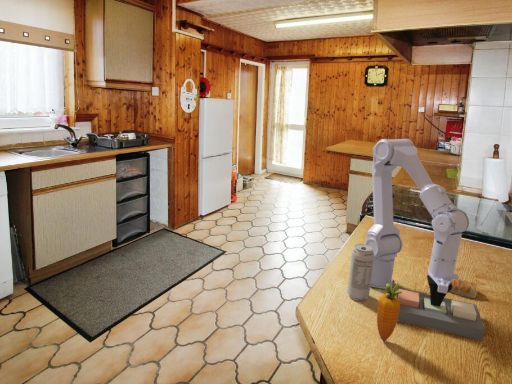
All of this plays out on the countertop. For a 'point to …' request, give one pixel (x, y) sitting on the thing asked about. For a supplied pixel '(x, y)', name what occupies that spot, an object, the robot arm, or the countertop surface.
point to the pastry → (464, 288)
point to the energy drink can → (360, 272)
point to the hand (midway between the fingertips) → (435, 304)
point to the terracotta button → (409, 298)
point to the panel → (442, 319)
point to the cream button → (463, 310)
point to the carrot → (388, 312)
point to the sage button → (430, 307)
